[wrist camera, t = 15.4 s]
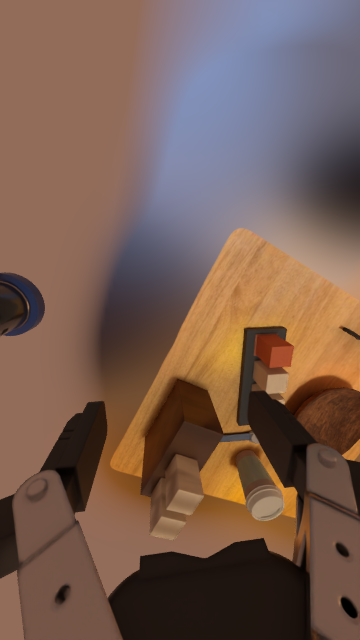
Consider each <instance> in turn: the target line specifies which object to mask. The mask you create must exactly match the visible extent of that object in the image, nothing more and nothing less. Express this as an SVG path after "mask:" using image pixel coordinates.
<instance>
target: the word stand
mask: <svg viewBox="0 0 360 640" xmlns="http://www.w3.org/2000/svg"><path fill="white" fill-rule="evenodd" d="M223 436H224V433H223V431H222V428H221V425H220V423H219V420H218V417H217V415H216V412H215V409H214V406H213V404H212V401H211V398H210V396H209V393H208V391H207V390H205V389H202V388H200V387H197V386H195V385H192V384H190V383H187V382H185V381H182V380H180V379H178V380H177V381H176V383H175V385H174V387H173V389H172V390H171V392H170V394H169V396H168V398H167V399H166V401H165V403H164V405H163V406H162V408H161V410H160V412H159V414H158V415H157V417H156V419H155V421H154V423H153V424H152V426H151V428H150V430H149V432H148V433H147V435H146V437H145V447H144V459H143V471H142V483H141V495H145V496H148V497H151V512H150V535H152V536H157V537H161V538H166V539H171V540H174V539H175V538H176V537H177V535H178V534H179V532H180V531H181V529H182V528H183V526H184V525H185V523H186V516H185V514H187V515H192V513H193V512H194V510H195V509H196V507H197V506H198V504H199V503H200V502H201V500H202V499H203V497H204V494H203V489H202V483H201V478H200V473H199V472H200V471H201V469H202V468H203V466H204V465H205V463H206V462H207V460H208V459H209V457H210V456H211V454H212V453H213V451H214V450H215V448H216V447H217V445H218V443H219V442H220V440H221V439H222V437H223Z"/></svg>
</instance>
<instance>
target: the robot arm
mask: <svg viewBox="0 0 360 640" xmlns="http://www.w3.org/2000/svg"><path fill="white" fill-rule="evenodd" d="M30 314H31V306H30V302H29V300H28V298H27V296H26V295H25V294H24V292H23V291H22V290H21V289H19V288H18V287H17V286H15V285H13V284H11V283H9V282H6V281H0V336H1V335H4V334H6V333H8V332H10V331H12V330H15V329H18V328H20V327H22V326H23V325H24V324H25V323H26V322H27V321H28V319H29V317H30ZM247 418H248V423H249V425H250V427H251V429H252V431H253V433H254V434H255V436H256V438H257V440H258V441H259V443H260V445H261V447H262V449H263V450H264V452H265V454H266V456H267V457H268V459H269V461H270V463H271V465H272V466H273V468H274V470H275V472H276V473H277V475H278V477H279V479H280V481H281V482H282V484H283V486H284V488H287V487H295V489H296V490H297V492H298V493H297V499H296V521H295V542H294V553H293V560H292V561H290V560H289V559H287V558H285V557H283V556H281V555H279V554H277V553H274V552H271V551H268V549H267V546H266V543H265V540H264V538H261V539H254V540H248V541H240V542H235V543H233V544H231V545H230V546H227V547H226V548H224V549H222V550H221V551H219V552H217V553H215V554H214V555H212V556H210V557H208V558H199V557H195V556H190V555H186V554H181V553H176V552H167V553H159V554H153V555H145V556H140V570H138V571H136V572H134V573H133V574H131V575H130V576H129V577H127V578H126V579H125V580H124V581H123V582H121V584H119V585H118V586H117V587H116V589H115V590H114V591H113V592H112V593H111V594H110V596H109V597H108V598H107V596H106V593H105V590H104V588H103V585H102V582H101V580H100V577H99V574H98V572H97V569H96V566H95V564H94V561H93V558H92V556H91V553H90V550H89V548H88V545H87V542H86V540H85V537H84V534H83V532H82V529H81V527H80V524H79V522H78V521H76V519H75V516H74V515H75V512H82V511H85V508H86V505H87V501H88V498H89V495H90V491H91V488H92V484H93V481H94V478H95V474H96V471H97V467H98V464H99V460H100V457H101V454H102V450H103V447H104V444H105V440H106V436H107V419H106V411H105V404H104V402H103V401H98V402H88V403H87V405H86V407H85V409H84V411H83V413H77V414H75V416H73V417H72V418H71V419H70V420H69V421H68V422H67V424H66V426H65V428H64V429H63V432H62V433H61V435H60V436H59V438H58V440H57V442H56V443H55V445H54V447H53V449H52V451H51V452H50V454H49V456H48V458H47V459H46V461H45V463H44V465H43V467H42V468H41V470H40V472H39V473H37V474H35V475H33V476H32V477H30V478H29V479H28V480H26V481H25V482H24V483H23V484H22V485H21V486H20V487H19V489H18V490H17V491H16V493H15V494H13V495H11V496H8V497H6V498H3V499H1V500H0V578H2V577H4V576H6V575H8V574H10V573H12V572H14V571H16V570H17V576H18V586H19V595H20V604H21V613H22V621H23V630H24V638H25V640H360V462H356V461H351V460H346V459H345V458H344V457H343V456H342V455H341V454H340V453H338V452H337V451H336V450H334V449H333V448H331V447H329V446H326V445H323V444H319V443H318V442H317V441H316V440H315V439H314V438H313V437H312V436H311V434H310V433H309V432H308V431H307V430H306V429H305V428H304V427H303V425H302V424H301V423H300V422H299V421H298V420H297V419H296V418H295V416H294V415H293V414H291V412H290V411H289V410H288V409H287V407H286V406H285V405H284V404H282V403H281V402H279V401H277V400H276V399H272V398H271V397H270V396H269V395H268V394H267V392H266V391H264V390H261V391H251V392H250V394H249V402H248V411H247Z"/></svg>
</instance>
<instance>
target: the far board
mask: <svg viewBox="0 0 360 640" xmlns="http://www.w3.org/2000/svg"><path fill="white" fill-rule="evenodd" d="M286 332H287V329H286V328H284V327H267V328H245V329H244V341H243V352H242V364H241V376H240V388H239V399H238V411H237V423H238V425H239V426H242V425H249V423H248V418H247V411H248V402H249V394H250V392H251V391H261V390H264V391H266V392H267V394H268V395H269V396H270V397H271V398H272V399H276V400H277V401H279V402H281V403H282V404H284V402H285V399H284V398H283V397H282V396H281V395H280V394H279V393H286V389H287V383H288V377H289V373H288V372H286V371H285V370H284V369H283V368H282V367H275V368H269V367H268V366H267V365H266V364H265V363H264V362H263V361H262V360H261V359H260V358H259V357H258V356H257V355H256V346H257V336H272V335H277V336H279V337H280V338H282V339H283V340H285V339H286Z"/></svg>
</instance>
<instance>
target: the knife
mask: <svg viewBox="0 0 360 640" xmlns="http://www.w3.org/2000/svg"><path fill="white" fill-rule="evenodd" d="M343 331H345V332H347V333H349V334H350V335H352V336H354V337H355V338H356V339H358V340H360V336H359V335H358V334H356V333H354V332H353V331H351V330H349V329H347V328H345V327H344V328H343Z"/></svg>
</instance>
